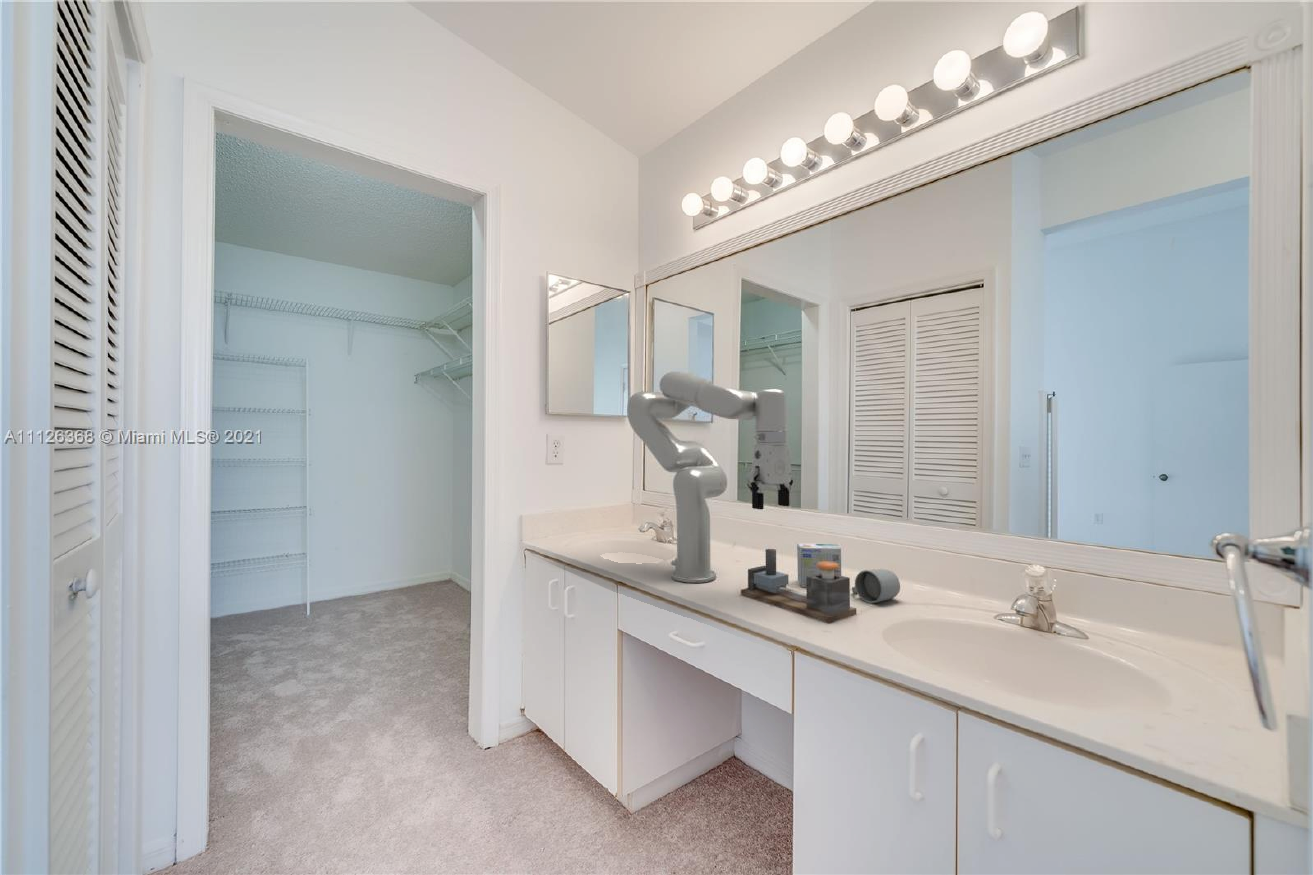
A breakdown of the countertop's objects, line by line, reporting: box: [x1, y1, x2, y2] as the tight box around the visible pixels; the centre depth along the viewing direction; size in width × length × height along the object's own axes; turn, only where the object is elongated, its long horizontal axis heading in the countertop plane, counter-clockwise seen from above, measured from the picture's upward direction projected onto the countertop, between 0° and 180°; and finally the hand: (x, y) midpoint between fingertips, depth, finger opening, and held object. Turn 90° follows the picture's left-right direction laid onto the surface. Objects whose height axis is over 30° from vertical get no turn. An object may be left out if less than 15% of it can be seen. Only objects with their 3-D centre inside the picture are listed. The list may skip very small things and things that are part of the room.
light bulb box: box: [796, 542, 842, 588], centre depth 137 cm, size 11×7×11 cm, turn 84°
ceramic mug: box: [851, 568, 901, 604], centre depth 125 cm, size 11×8×8 cm
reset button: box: [817, 561, 838, 580], centre depth 114 cm, size 4×4×5 cm
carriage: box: [754, 548, 789, 593], centre depth 127 cm, size 6×6×10 cm
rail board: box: [740, 565, 857, 624], centre depth 121 cm, size 26×10×8 cm, turn 36°
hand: (771, 507), depth 127 cm, fingers open, 9 cm apart
